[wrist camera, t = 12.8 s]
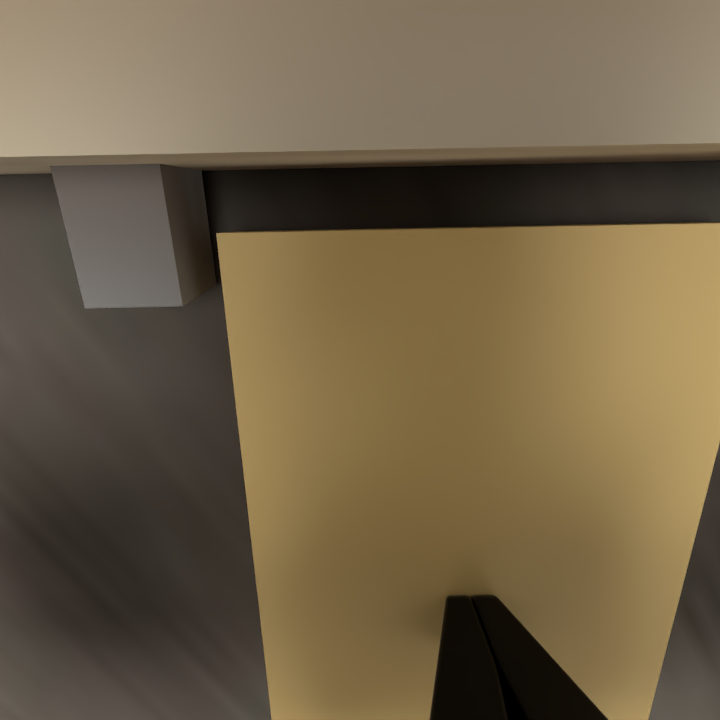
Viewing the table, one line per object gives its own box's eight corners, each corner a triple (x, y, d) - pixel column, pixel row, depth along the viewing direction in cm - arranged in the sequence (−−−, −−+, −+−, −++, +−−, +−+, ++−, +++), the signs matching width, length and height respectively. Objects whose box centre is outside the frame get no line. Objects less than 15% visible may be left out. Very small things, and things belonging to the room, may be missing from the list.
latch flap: (618, 696, 9) (642, 740, 8) (281, 704, 9) (275, 748, 8) (725, 221, 6) (777, 221, 5) (233, 231, 6) (216, 233, 5)
